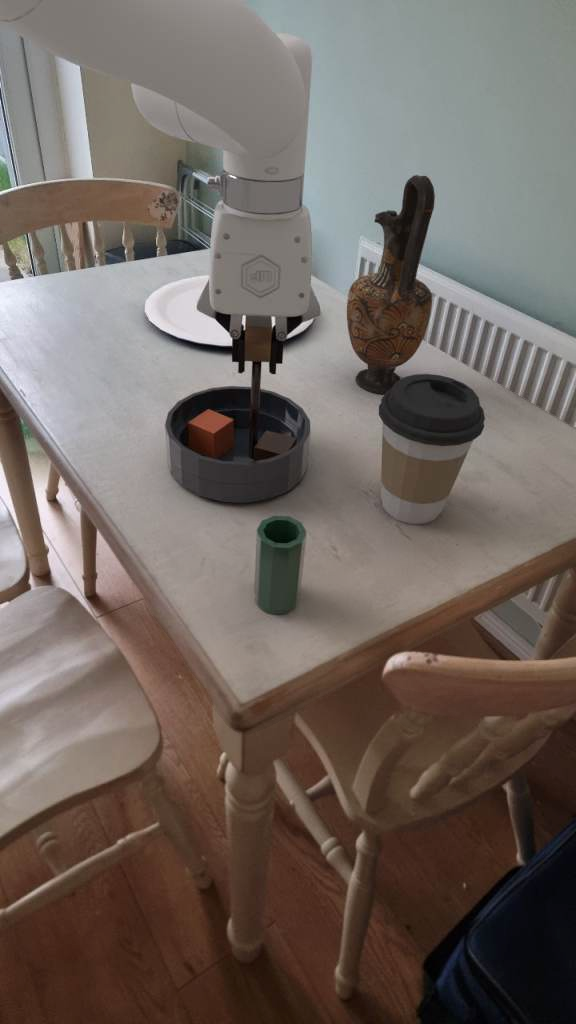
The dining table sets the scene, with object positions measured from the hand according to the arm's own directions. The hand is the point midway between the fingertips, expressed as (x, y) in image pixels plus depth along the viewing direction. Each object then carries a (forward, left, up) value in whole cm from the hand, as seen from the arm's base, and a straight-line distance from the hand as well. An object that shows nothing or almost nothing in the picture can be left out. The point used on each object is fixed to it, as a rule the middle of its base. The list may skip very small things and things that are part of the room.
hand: (257, 366), depth 77 cm
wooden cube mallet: (0, 0, -12) cm, 12 cm away
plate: (-19, +41, -14) cm, 47 cm away
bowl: (-2, +1, -14) cm, 14 cm away
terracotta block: (-6, +2, -14) cm, 15 cm away
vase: (+10, +28, -14) cm, 33 cm away
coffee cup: (+20, +1, -14) cm, 24 cm away
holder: (+10, -19, -14) cm, 26 cm away
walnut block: (+3, 0, -14) cm, 14 cm away
